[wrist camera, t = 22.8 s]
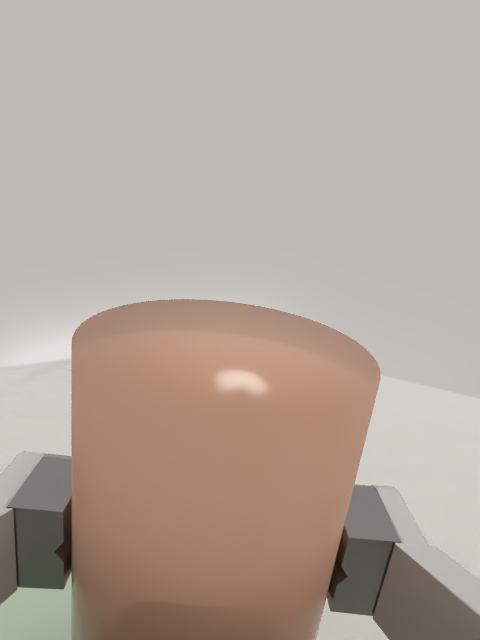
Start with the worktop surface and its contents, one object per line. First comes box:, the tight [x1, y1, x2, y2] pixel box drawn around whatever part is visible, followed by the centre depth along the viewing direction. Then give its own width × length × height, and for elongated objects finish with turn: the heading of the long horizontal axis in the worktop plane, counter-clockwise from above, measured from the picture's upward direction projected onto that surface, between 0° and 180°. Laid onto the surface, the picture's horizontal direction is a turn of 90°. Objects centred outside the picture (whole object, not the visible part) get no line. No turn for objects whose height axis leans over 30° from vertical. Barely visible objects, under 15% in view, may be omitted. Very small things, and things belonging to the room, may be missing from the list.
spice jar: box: [71, 299, 380, 640], centre depth 8 cm, size 5×5×10 cm
